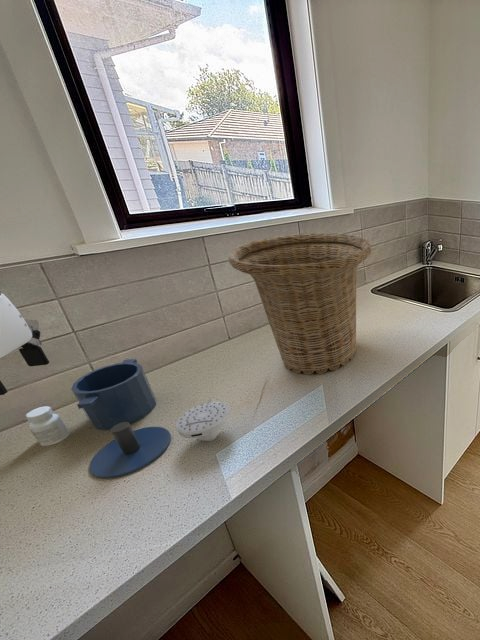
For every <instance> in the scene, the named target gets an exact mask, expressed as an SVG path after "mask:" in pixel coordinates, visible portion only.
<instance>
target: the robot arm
mask: <svg viewBox="0 0 480 640" xmlns="http://www.w3.org/2000/svg"><path fill="white" fill-rule="evenodd" d="M40 337H41V331H40V326H39V321H38V320H37V319H25V318H24V317H23V315H22V314H21V312H20V311H19V310H18V308H17V307H16V306H15V305H14V303H12V302H11V300H10V299H9V298H8V297H7V296H6V295H5V294H4V293H2V292H1V291H0V359H2V358H4V357H6V356H7V355H9V354H10V353H13V352H15V350H17V349H18V351H19V353H20V355H21V356H22V358H23V360H24V361H25V364H26V365H27V366H28V367H39V366H47V365H49V364H50V360H49V359H48V357H47V355H46V354H45V352H44V349H43V348H42V344H43V343H42V341H41V339H40ZM7 393H8V389H7V388H6V387H5V385H4V383H3V382H2V381H1V380H0V396H5V395H6V394H7Z"/></svg>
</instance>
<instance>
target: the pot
mask: <svg viewBox="0 0 480 640" xmlns="http://www.w3.org/2000/svg"><path fill="white" fill-rule="evenodd" d="M71 391H72V393H73V395H74V397H75V398H76V400H77V402H78V403H77V404H76V406H77V407H78V409H82V410H83V412H84V414H85V416H86V418H87V420H88V421H89V423H90V425H91V426H92V427H93V428H94V429H95V430H99V431H111V428H112V427H113V426H115V425H117V424H119V423H122V422H128V423H129V424H130V425H132V424H134V423H135V422H137V421H140V420H142V419H143V418H145V417H146V416H147V415H149V414H150V413H151V412H152V411H153V410H154V409H155V408H156V406H157V398H156V395H155V393H154V391H153V389H152V387H151V384H150V381H149V380H148V378H147V375H146V372H145V371H144V368H143V366H142V365H141V364H140V363H138V360H137V358H128V359H127V358H126V359H124V360H123V361H122V362H117V363H113V364H108V365H104V366H101V367H100V368H96V369H94V370H92V371H90V372H88V373H85V374H84V375H82V376H80V377H79V378H78V379H76V381H74V382H73V384H72V385H71Z"/></svg>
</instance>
